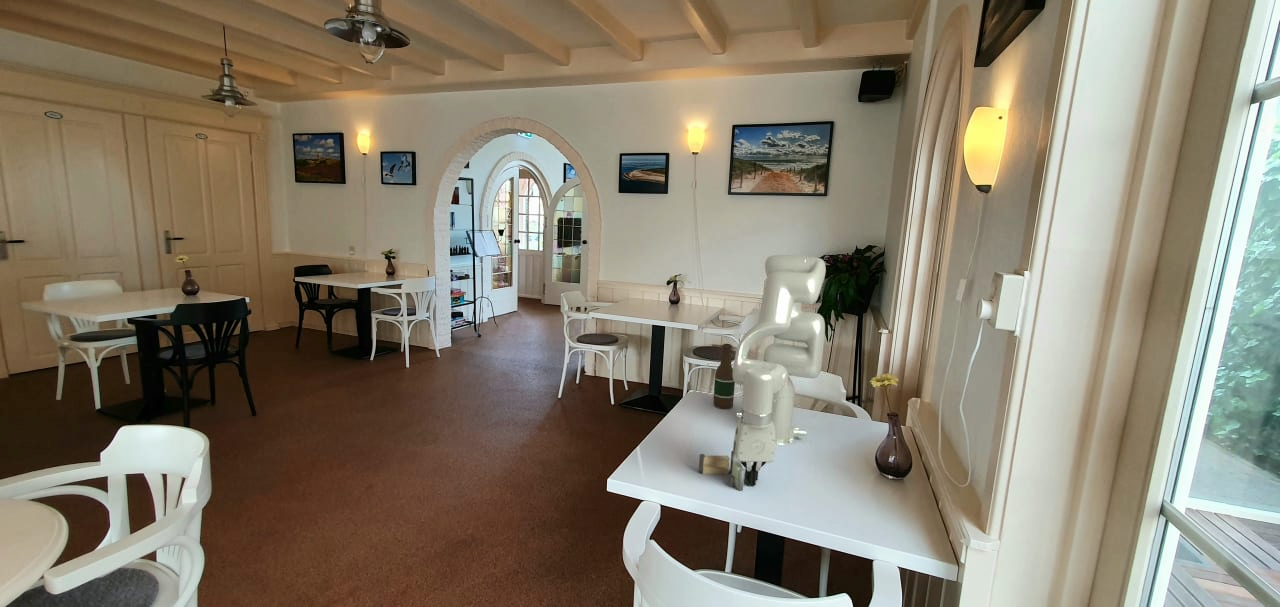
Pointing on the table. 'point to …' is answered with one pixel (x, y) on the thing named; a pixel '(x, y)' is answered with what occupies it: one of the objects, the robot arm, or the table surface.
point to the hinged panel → (738, 475)
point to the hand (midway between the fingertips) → (750, 482)
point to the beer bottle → (724, 381)
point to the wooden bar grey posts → (716, 465)
